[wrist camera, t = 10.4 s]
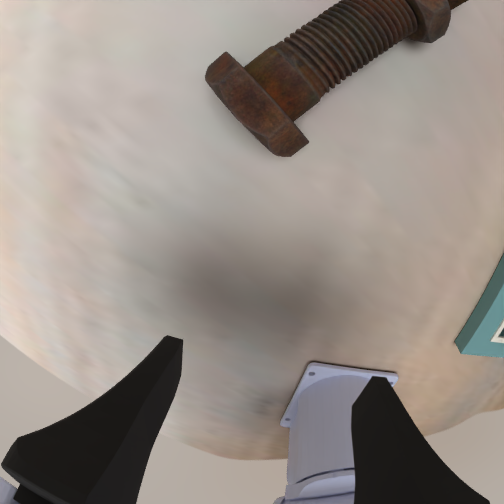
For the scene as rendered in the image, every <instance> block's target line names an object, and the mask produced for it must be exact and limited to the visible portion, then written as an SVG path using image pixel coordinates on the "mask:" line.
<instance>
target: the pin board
mask: <svg viewBox="0 0 504 504" xmlns="http://www.w3.org/2000/svg"><path fill="white" fill-rule="evenodd" d="M455 343H456V345H457V347H458V349H459V351H460V353H461V354H468V355H479V356H491V357H504V254H503V256H502V258H501V260H500V262H499V264H498V266H497V268H496V270H495V272H494V274H493V276H492V278H491V280H490V282H489V284H488V286H487V288H486V290H485V292H484V293H483V295H482V297H481V299H480V301H479V302H478V304H477V306H476V308H475V309H474V311H473V313H472V314H471V316H470V318H469V319H468V321H467V323H466V324H465V326H464V328H463V329H462V331H461V332H460V334H459V335H458V337H457V338H456V340H455Z"/></svg>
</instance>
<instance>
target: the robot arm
mask: <svg viewBox="0 0 504 504" xmlns="http://www.w3.org/2000/svg"><path fill="white" fill-rule="evenodd" d="M182 352H183V340H182V339H179V338H175V337H171V336H168V335H167V336H165V337H164V338H163V339H162V340H161V341H160V343H159V344H158V345H157V346H156V347H155V348H154V349H153V350H152V351H151V352H150V354H149V355H148V356H147V357H146V358H145V359H144V360H143V361H142V362H141V363H140V364H138V365H137V366H136V367H135V368H134V369H133V370H132V371H131V372H130V373H129V374H128V375H127V376H126V377H124V378H123V379H122V380H121V381H120V382H118V383H117V384H116V385H115V386H114V387H112V388H111V389H110V390H109V391H107V392H106V393H105V394H103V395H102V396H101V397H99V398H98V399H96V400H95V401H93V402H92V403H90V404H89V405H87V406H86V407H84V408H82V409H81V410H79V411H77V412H76V413H74V414H72V415H70V416H68V417H67V418H64V419H62V420H60V421H58V422H56V423H54V424H52V425H50V426H48V427H45V428H43V429H40V430H38V431H35V432H32V433H30V434H27V435H24V436H21V437H18V438H17V440H16V441H15V442H14V443H13V445H12V446H11V447H10V449H9V451H8V453H7V454H6V456H5V458H4V460H3V462H2V463H1V466H2V468H3V469H4V470H5V471H6V472H7V473H8V474H9V475H11V476H12V477H13V478H14V479H15V480H16V481H17V482H19V483H20V486H19V487H18V489H17V488H16V487H14V486H13V485H11V484H9V482H7V481H6V480H4V479H3V478H1V477H0V504H136V502H137V498H138V493H139V490H140V486H141V483H142V479H143V476H144V472H145V469H146V466H147V462H148V459H149V456H150V452H151V450H152V447H153V445H154V442H155V440H156V437H157V435H158V433H159V431H160V429H161V426H162V424H163V422H164V420H165V417H166V415H167V413H168V411H169V408H170V406H171V404H172V401H173V399H174V397H175V393H176V390H177V387H178V384H179V380H180V377H181V371H182ZM397 381H398V375H397V374H396V373H389V372H380V371H371V370H363V369H356V368H348V367H341V366H335V365H328V364H322V363H316V362H313V363H310V364H309V365H308V366H307V368H306V370H305V372H304V375H303V377H302V379H301V381H300V383H299V385H298V387H297V389H296V391H295V393H294V395H293V397H292V399H291V401H290V403H289V405H288V407H287V409H286V411H285V413H284V415H283V417H282V419H281V421H280V425H281V426H283V427H289V428H290V433H289V449H288V464H287V465H288V466H287V481H288V484H289V485H287V486H286V492H285V496H283V497H279V498H277V499H276V500H275V501H274V503H273V504H490V502H489V500H487V499H486V498H484V497H483V496H482V495H480V494H479V493H477V492H476V491H474V490H473V489H472V488H470V487H469V486H468V485H467V484H466V483H464V482H463V481H462V480H461V479H460V478H459V477H458V476H457V475H456V474H455V473H454V472H453V471H451V469H450V468H449V467H448V466H447V465H446V464H445V463H444V462H443V461H442V460H441V459H440V457H439V456H438V455H437V454H436V453H435V451H434V450H433V449H432V448H431V446H430V445H429V444H428V442H427V441H426V440H425V438H424V437H423V435H422V434H421V432H420V431H419V430H418V428H417V427H416V425H415V423H414V422H413V420H412V419H411V417H410V416H409V414H408V412H407V411H406V409H405V407H404V406H403V404H402V402H401V401H400V399H399V397H398V396H397V394H396V392H395V391H394V389H393V386H394V385H395V383H396V382H397Z"/></svg>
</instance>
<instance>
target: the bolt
mask: <svg viewBox="0 0 504 504" xmlns="http://www.w3.org/2000/svg"><path fill="white" fill-rule="evenodd" d="M466 1H468V0H341V1H339V3H337V4H334V6H333V7H330V8H328V10H326V11H324V12H323V13H322V14H320V15H319V16H318V17H317V18H314V19H313V20H312V21H311V22H308V23H307V24H306V25H303V26H302V27H301V29H297V30H296V32H295V33H291V34H290V38H289V37H286V38H285V39H284V41H285V42H283V41H280V42H279V43H278V44H276V45H275V46H271V47H269V48H268V49H267V50H265V51H264V52H263V53H261V54H260V55H259V56H258V57H256V58H255V59H254V60H253V61H251V62H250V63H249V64H248V65H246V66H245V67H244V68H243V67H242V66H241V65H240V64H239V63H238V62H237V61H236V60H235V59H234V58H233V57H232V56H231V55H230V54H229V53H228V52H224V53H223V54H222V55H221V56H220V57H219V58H218V59H216V60H215V61H214V62H213V63H212V64H211V65H210V66H208V69H207V71H206V75H205V80H206V82H207V83H208V84H209V86H210V87H211V88H212V90H213V91H214V92H215V94H216V95H217V96H218V97H219V98H220V100H221V101H222V102H223V103H224V104H225V105H226V107H227V108H228V109H229V110H230V111H231V113H232V114H233V115H234V116H235V117H236V118H237V119H238V120H239V121H240V122H241V123H242V124H243V125H244V126H245V127H246V128H247V129H248V130H249V131H250V132H251V133H252V134H253V135H254V136H255V137H256V138H257V139H258V140H259V141H260V142H261V143H262V144H263V145H264V146H265V147H266V148H267V149H269V150H270V151H271V152H272V153H273V154H275V155H277V156H282V157H291V156H292V155H294V154H295V153H296V152H297V151H299V150H300V149H301V148H303V147H304V146H305V145H306V144H308V143H309V141H308V140H307V138H306V137H305V136H304V135H303V133H302V132H301V131H300V130H299V128H298V127H297V126H296V125H295V123H294V121H295V120H296V119H297V118H299V117H300V116H301V115H302V114H304V113H305V112H306V111H308V110H309V109H310V108H311V107H313V106H314V105H315V104H316V103H318V102H319V101H320V99H321V97H322V96H323V95H324V94H325V92H329V87H331V88H335V83H336V84H340V83H341V81H340V79H342V80H345V79H346V76H351V75H352V72H357V70H358V69H360V68H362V67H363V65H367V64H368V63H369V61H372V60H373V59H374V58H377V57H378V55H380V54H382V53H383V52H384V51H387V50H388V48H391V47H393V45H395V44H397V43H398V42H399V41H402V39H404V38H406V37H407V38H410V39H412V40H415V41H420V42H426V43H432V42H434V41H436V40H437V39H439V38H440V37H442V36H443V35H445V33H446V31H447V28H448V26H449V23H450V19H451V10H452V9H454V8H455V7H457V6H459V5H461V4H462V3H464V2H466Z"/></svg>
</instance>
